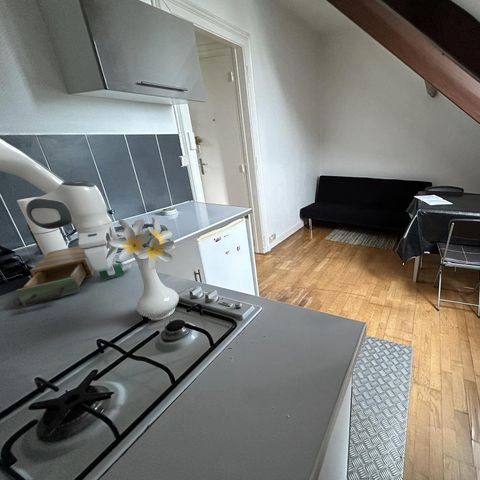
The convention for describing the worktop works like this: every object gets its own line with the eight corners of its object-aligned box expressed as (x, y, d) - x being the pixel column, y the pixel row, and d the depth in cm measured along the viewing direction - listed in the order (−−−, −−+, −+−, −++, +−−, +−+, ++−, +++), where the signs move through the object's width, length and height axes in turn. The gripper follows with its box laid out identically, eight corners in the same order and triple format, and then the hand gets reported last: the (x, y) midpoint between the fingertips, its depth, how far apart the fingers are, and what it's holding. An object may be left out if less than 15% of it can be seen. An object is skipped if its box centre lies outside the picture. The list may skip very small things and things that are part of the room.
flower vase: (166, 339, 59) (130, 236, 50) (117, 319, 66) (79, 227, 57) (210, 306, 70) (188, 216, 60) (164, 292, 77) (138, 211, 68)
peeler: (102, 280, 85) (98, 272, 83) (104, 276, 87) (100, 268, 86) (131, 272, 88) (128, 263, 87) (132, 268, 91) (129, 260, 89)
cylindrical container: (43, 265, 100) (11, 202, 90) (55, 258, 106) (26, 197, 97) (65, 262, 101) (35, 199, 92) (75, 255, 108) (49, 195, 99)
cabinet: (92, 276, 89) (85, 259, 87) (39, 288, 83) (29, 270, 81) (102, 258, 104) (96, 243, 101) (57, 267, 98) (49, 251, 95)
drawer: (75, 299, 75) (68, 285, 73) (15, 314, 69) (6, 299, 67) (91, 270, 92) (86, 258, 90) (45, 280, 86) (38, 267, 85)
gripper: (92, 226, 89) (107, 262, 94) (76, 245, 72) (95, 288, 77) (114, 223, 91) (127, 258, 97) (104, 240, 75) (120, 282, 80)
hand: (113, 272), depth 87 cm, fingers closed on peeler, 2 cm apart
